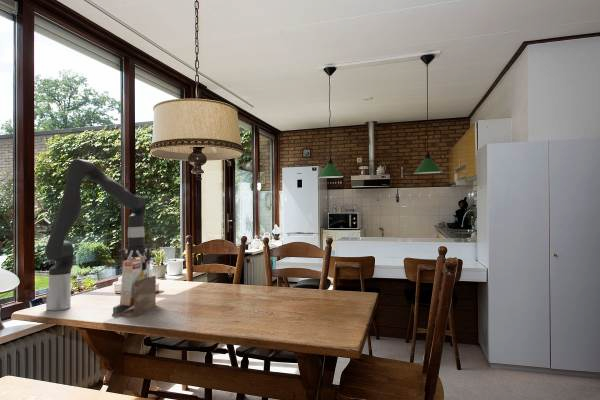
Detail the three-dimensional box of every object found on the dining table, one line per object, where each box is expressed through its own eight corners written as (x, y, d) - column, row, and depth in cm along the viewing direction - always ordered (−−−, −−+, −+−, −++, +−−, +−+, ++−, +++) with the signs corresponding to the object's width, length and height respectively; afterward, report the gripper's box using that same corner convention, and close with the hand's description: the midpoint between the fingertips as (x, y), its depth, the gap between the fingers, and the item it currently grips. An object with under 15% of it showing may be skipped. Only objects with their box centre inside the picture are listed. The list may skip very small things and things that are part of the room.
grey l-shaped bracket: (112, 316, 170) (112, 283, 171) (132, 304, 190) (132, 275, 191) (137, 316, 170) (138, 283, 170) (155, 305, 190) (155, 275, 190)
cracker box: (130, 306, 173) (133, 261, 174) (119, 305, 174) (122, 260, 175) (148, 299, 187) (150, 258, 187) (137, 298, 188) (140, 257, 189)
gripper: (117, 237, 178) (118, 272, 177) (147, 236, 177) (148, 271, 177) (125, 236, 185) (126, 269, 185) (153, 235, 185) (154, 268, 185)
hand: (136, 270), depth 181 cm, fingers closed on cracker box, 6 cm apart
